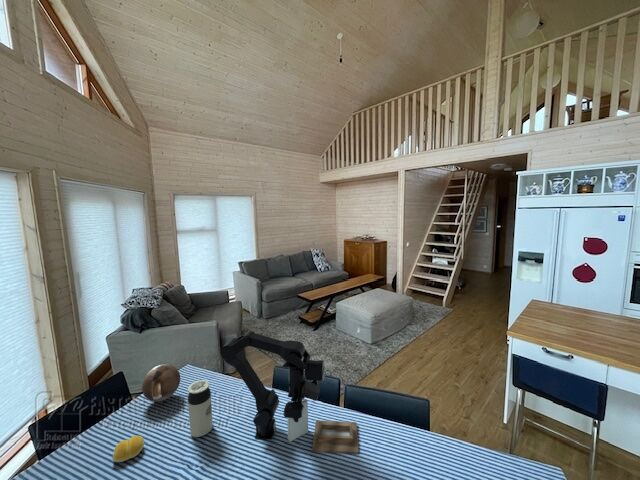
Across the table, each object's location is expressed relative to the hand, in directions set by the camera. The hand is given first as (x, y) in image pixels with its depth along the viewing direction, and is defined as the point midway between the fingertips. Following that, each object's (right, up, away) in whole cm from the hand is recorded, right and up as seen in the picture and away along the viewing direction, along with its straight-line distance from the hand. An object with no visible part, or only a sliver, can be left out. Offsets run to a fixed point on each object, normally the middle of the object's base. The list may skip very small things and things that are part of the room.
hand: (297, 416), depth 98 cm
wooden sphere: (-64, -7, +23) cm, 68 cm away
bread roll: (-58, -9, -2) cm, 59 cm away
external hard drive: (0, -8, +1) cm, 8 cm away
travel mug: (-38, -8, +5) cm, 39 cm away
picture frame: (+14, -7, 0) cm, 16 cm away
